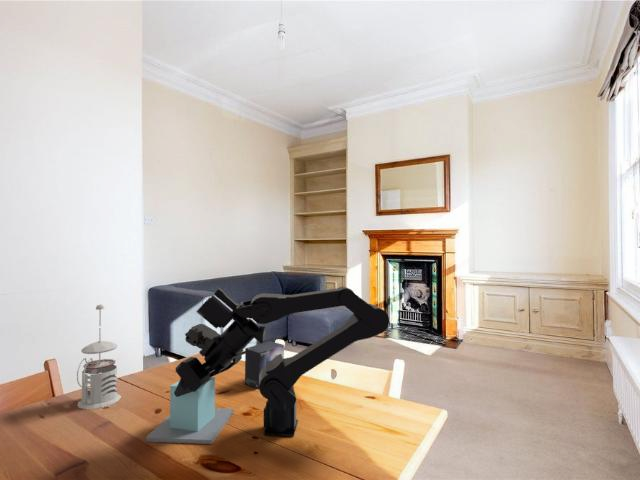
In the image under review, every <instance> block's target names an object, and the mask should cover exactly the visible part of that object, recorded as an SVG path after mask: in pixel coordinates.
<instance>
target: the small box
mask: <svg viewBox="0 0 640 480" xmlns="http://www.w3.org/2000/svg"><path fill="white" fill-rule="evenodd" d="M244 351H245V355H244V359H245V361H244V385H247V386H250V387H252V388H256V389H259V375H260V371H261V369H262V368H263V367H264V366H265V362H267V361H271V360H273V359H274V358H275V357H276V356H278V355H279V354H282V357H283V359H285V345H284V344H282V343H278V342H275V341H271V340H269V341H266V342H263V343H259V344H256V345H253V346H249V347H245V348H244Z"/></svg>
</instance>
